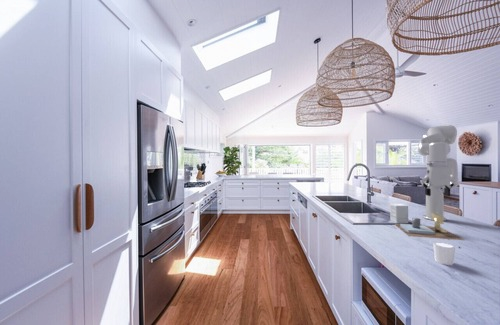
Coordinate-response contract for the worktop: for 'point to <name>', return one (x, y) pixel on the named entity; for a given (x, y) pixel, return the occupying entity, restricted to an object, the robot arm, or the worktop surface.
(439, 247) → the shot glass
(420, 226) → the lid
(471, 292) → the worktop surface
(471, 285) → the worktop surface
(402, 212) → the supplement box
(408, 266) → the worktop surface
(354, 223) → the worktop surface
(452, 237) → the board
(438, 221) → the key
